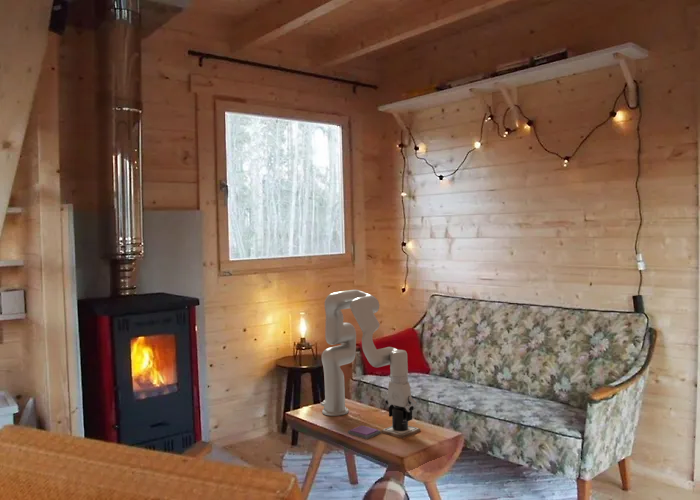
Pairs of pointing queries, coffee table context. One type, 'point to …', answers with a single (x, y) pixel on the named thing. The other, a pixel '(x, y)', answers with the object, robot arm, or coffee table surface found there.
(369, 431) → the ink pad
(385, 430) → the white square tile
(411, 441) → the coffee table surface
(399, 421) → the supplement bottle
